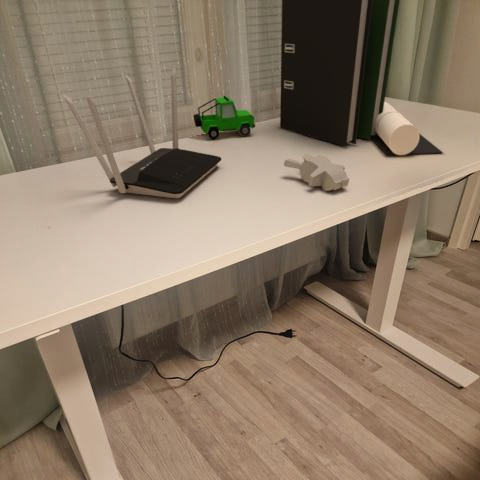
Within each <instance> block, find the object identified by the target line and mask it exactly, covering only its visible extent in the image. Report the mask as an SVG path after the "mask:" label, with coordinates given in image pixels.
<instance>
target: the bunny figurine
mask: <svg viewBox="0 0 480 480" xmlns="http://www.w3.org/2000/svg"><path fill="white" fill-rule="evenodd" d="M301 157H302V159H303V162H301V161H299V160H297V159H293V158H285V160H284V162H283V166H284V167H285V168H290V169H297V170H298V171H299V173H300V177H301V180H303V181H304V182H306V183H307V184H308V186H309V187H321V189H322V190H323V191H324V192H330V191H333V190H334V191H336V190H338V189H341V188H345V187H347V186H349V182H350V178H349V177H348V175H347V173H346V171H345V166H344V165H342V164H336V163H333V162H332V161H331V159H330V158H329V157H327V156H325V155H321V154H320V155H319V154H318V155H314V156H313V155H312V154H311V153H303V154H302V156H301Z"/></svg>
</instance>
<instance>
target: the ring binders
mask: <svg viewBox="0 0 480 480" xmlns="http://www.w3.org/2000/svg"><path fill="white" fill-rule="evenodd" d="M399 8H400V0H281V43H280V44H281V45H280V47H281V48H280V51H281V52H280V54H281V55H280V105H279V107H280V109H279V111H280V112H279V113H280V114H279V115H280V116H279V128H280V129H283V130H286V131H290V132H294V133H297V134H300V135H304V136H308V137H311V138H313V139H318V140H321V141H325V142H329V143H332V144H335V145H339V146H342V147H347V145H348V143H350V144H353V145H356V144H357V138H360V139H363V140H368V141H371V140H372V139H371V136H374V137H377V138H379V135H378V134H377V133H376V131H375V121H376V118H377V116H378V115H379V114H381V113H382V112H383V108H384V102H386V93H387V87H388V80H389V73H390V67H391V60H392V54H393V47H394V42H395V41H394V39H395V34H396V27H397V20H398V14H399Z"/></svg>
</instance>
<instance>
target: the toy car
mask: <svg viewBox="0 0 480 480" xmlns="http://www.w3.org/2000/svg"><path fill="white" fill-rule="evenodd" d="M214 101H215V103H214V105H212V106H211V107H209V108H207V109H205V110H203V111H202V112H201V110H200V109H201V108H204V107H205V106H207V105H208V104H210V103H212V102H214ZM214 108H215V114H205V113H206V112H208V111H209V110H211V109H214ZM197 111H198V113H196V114H193V122H194V125H195V128H200V129H201V130H202V132H203V134H207V136H208V138H209V139H210V140H213V141H214V140H217V139H218V138H219V137H220V133H222V132H232V131H237V132H238V133H239V135H240V136H241V137H248V136H249V135H250V134H251V130H253V129H255V128H256V123H255V116H254V115H252V114H251V113H250V111H248V110H247V109H237V108H236V105H235V102H234V100H232V99H231V98H230V97H229V96H226V95H223V96H222V97H216V98H213V99H211V100H209V101H207V102H206V103H204V104H202V105H200V106H198V108H197ZM204 114H205V115H204Z"/></svg>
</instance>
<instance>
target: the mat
mask: <svg viewBox="0 0 480 480" xmlns="http://www.w3.org/2000/svg"><path fill="white" fill-rule="evenodd" d="M419 135H420V138H419V142H418V144H417V146H416V147H415V149H414V150H413V151H411V152H410V153H408V154H405V155H404V156H419V155H421V156H422V155H442V154H443V151H442V150H440V149H439V148H438V147H437V146H435V145H434V144H433V143H432V142H430V141H429V140H428V139H427V138H426V137H424V136H423V135H422V134H421V133H419ZM370 140H372V142H373V143H374V144H375V145H376V146H377V147H378V148H379V150H380V151H381V152H382V153H383V154H384V155H385V156H386V157H390V156H391V157H394V156H398V155H397V154H395V153H393V152H392V151H391V149H390V148H389V147H388V146H387V145H386V144H385V142H384V141H383V140H382V139H381V138H380V137H379V138H377V137H374V136H371V139H370Z"/></svg>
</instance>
